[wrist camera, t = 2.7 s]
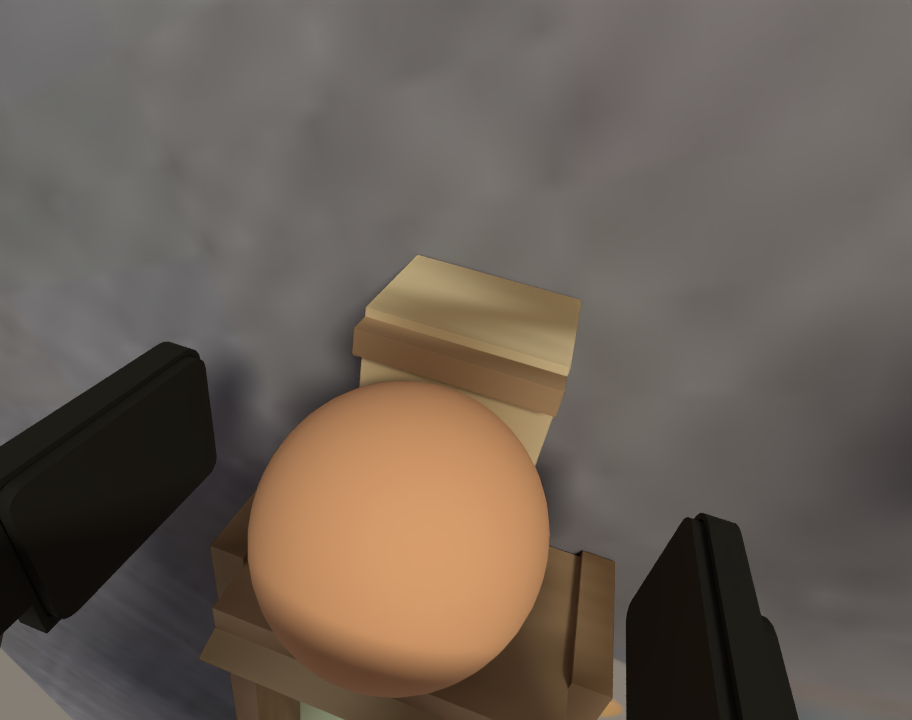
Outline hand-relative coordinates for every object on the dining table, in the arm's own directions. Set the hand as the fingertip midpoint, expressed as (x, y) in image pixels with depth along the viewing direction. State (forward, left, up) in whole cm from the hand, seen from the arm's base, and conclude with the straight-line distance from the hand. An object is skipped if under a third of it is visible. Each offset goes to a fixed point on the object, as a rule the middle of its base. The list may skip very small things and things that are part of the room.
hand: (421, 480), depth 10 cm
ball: (0, 0, +1) cm, 1 cm away
